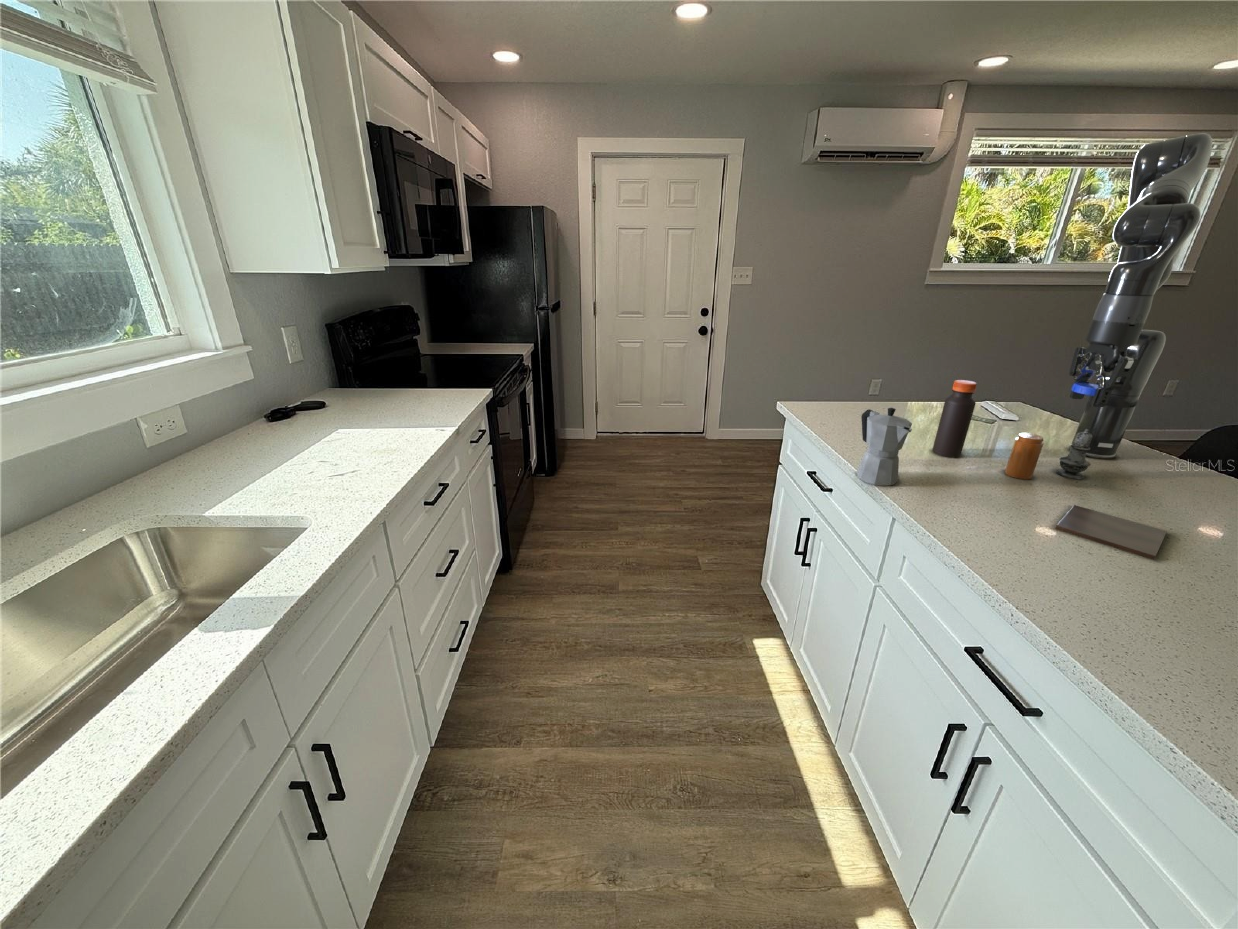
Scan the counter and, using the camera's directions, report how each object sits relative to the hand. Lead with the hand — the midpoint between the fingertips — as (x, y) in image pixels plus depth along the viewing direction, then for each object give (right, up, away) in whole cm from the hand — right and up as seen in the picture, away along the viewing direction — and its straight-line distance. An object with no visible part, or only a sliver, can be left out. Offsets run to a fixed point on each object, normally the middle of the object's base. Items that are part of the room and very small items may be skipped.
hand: (1086, 402), depth 102 cm
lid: (0, +3, -1) cm, 3 cm away
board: (-1, -26, -5) cm, 27 cm away
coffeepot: (-34, -16, +19) cm, 43 cm away
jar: (+2, -16, +20) cm, 25 cm away
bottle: (-7, -10, +33) cm, 36 cm away
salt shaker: (+15, -16, +20) cm, 29 cm away
